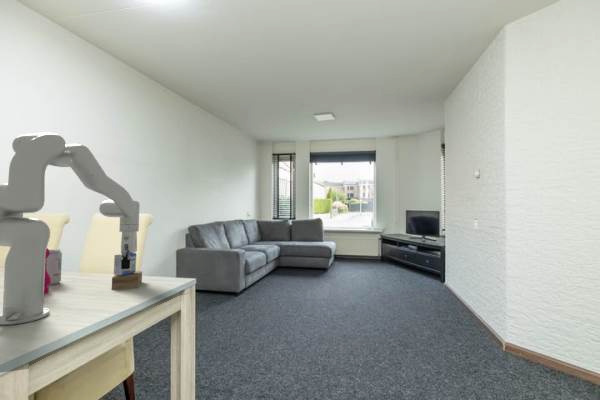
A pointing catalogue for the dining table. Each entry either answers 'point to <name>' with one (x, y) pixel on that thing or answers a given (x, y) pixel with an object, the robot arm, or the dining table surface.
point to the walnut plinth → (127, 281)
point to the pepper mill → (46, 274)
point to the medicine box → (118, 265)
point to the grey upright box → (54, 266)
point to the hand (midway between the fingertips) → (127, 266)
